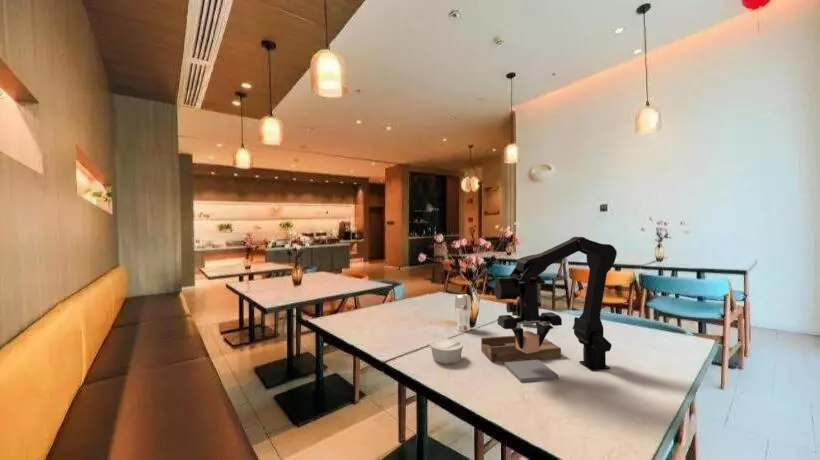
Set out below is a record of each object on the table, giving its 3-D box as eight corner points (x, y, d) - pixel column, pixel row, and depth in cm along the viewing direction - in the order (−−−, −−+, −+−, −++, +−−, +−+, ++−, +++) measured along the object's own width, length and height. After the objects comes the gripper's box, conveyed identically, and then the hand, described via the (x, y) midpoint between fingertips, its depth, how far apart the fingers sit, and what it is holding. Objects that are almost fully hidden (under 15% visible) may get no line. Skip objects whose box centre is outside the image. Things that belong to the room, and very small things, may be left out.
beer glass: (452, 328, 151) (451, 295, 151) (465, 326, 154) (464, 293, 154) (461, 333, 145) (460, 298, 145) (474, 330, 148) (474, 296, 148)
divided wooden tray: (561, 356, 117) (560, 342, 117) (491, 362, 114) (491, 347, 114) (545, 346, 127) (545, 333, 127) (481, 351, 124) (481, 337, 124)
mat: (558, 378, 101) (558, 375, 101) (520, 382, 99) (520, 378, 99) (538, 362, 113) (538, 359, 113) (503, 365, 111) (503, 362, 111)
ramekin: (462, 366, 111) (461, 350, 111) (428, 364, 113) (428, 349, 113) (463, 353, 122) (463, 339, 122) (432, 352, 124) (432, 337, 124)
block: (539, 351, 106) (539, 335, 105) (526, 353, 104) (526, 337, 104) (528, 345, 110) (528, 330, 110) (515, 348, 108) (515, 332, 108)
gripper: (543, 291, 115) (544, 337, 115) (490, 294, 112) (491, 341, 113) (562, 298, 104) (563, 349, 104) (504, 301, 101) (505, 353, 102)
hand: (529, 347), depth 106 cm, fingers closed on block, 5 cm apart
